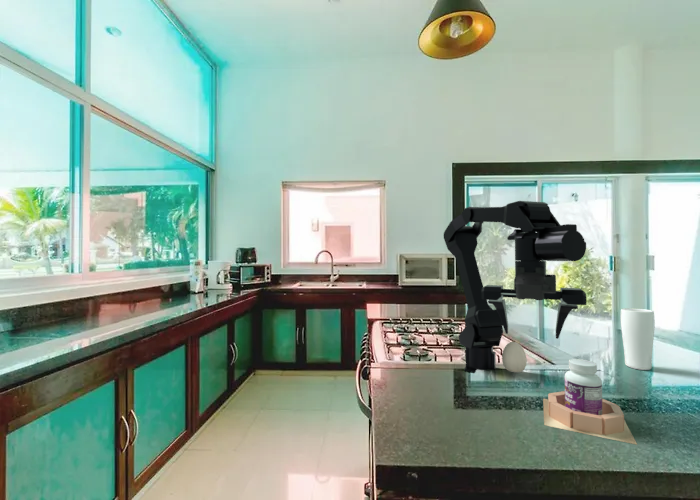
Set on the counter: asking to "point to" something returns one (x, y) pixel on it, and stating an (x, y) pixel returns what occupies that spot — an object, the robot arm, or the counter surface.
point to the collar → (586, 416)
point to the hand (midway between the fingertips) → (531, 335)
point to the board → (551, 422)
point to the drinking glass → (638, 337)
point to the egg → (514, 357)
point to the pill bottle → (583, 387)
